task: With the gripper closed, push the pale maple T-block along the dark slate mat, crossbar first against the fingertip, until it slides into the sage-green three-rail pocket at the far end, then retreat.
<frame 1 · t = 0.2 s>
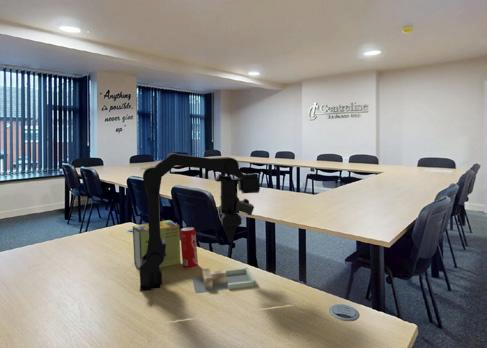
hand: (229, 238, 116), 14 cm above the table, fingers open, 9 cm apart
beverage can: (189, 267, 127), on the table
t block: (214, 282, 112), resting on mat
protein box: (157, 264, 130), on the table
mat: (223, 282, 113), on the table
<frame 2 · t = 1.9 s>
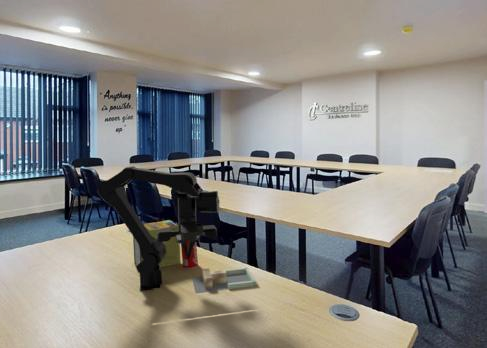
hand: (188, 258, 109), 10 cm above the table, fingers closed
nothing on the table moved.
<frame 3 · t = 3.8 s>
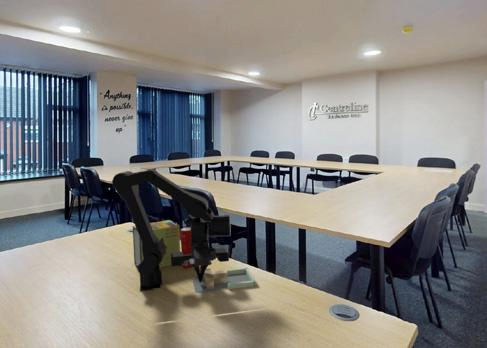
hand: (200, 281, 111), 1 cm above the table, fingers closed
t block: (215, 282, 112), resting on mat, touching gripper
everything else where it was.
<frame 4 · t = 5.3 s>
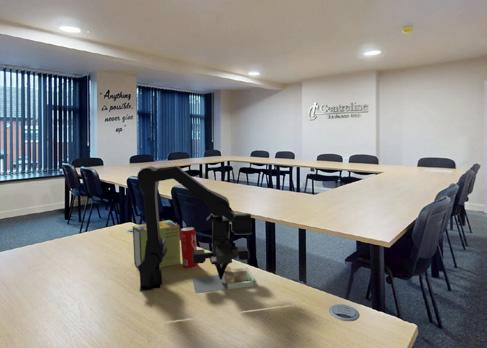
hand: (220, 279, 113), 1 cm above the table, fingers closed
t block: (235, 280, 114), resting on mat, touching gripper
everything else where it was.
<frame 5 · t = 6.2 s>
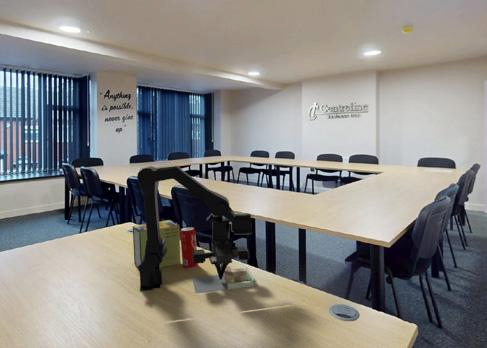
hand: (220, 279, 113), 1 cm above the table, fingers closed
nothing on the table moved.
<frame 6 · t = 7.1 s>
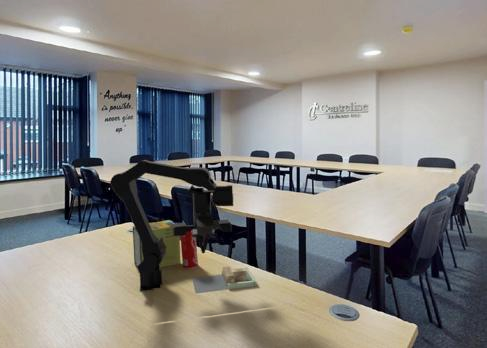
hand: (203, 252, 110), 11 cm above the table, fingers closed
t block: (235, 280, 114), resting on mat
everything else where it was.
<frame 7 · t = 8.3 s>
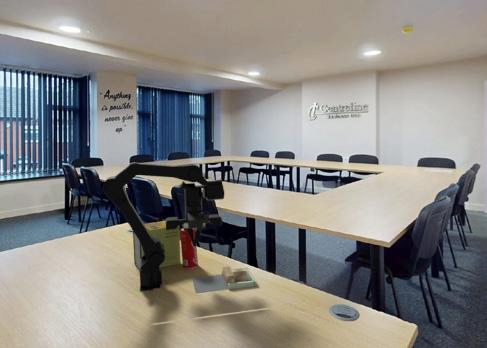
hand: (194, 246, 114), 12 cm above the table, fingers closed
nothing on the table moved.
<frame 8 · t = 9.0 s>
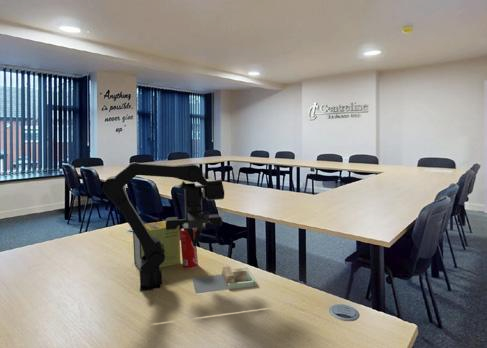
hand: (194, 246, 114), 12 cm above the table, fingers closed
nothing on the table moved.
at the end: t block 0.6 cm from the target spot, resting on mat; t block tilted 0° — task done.
